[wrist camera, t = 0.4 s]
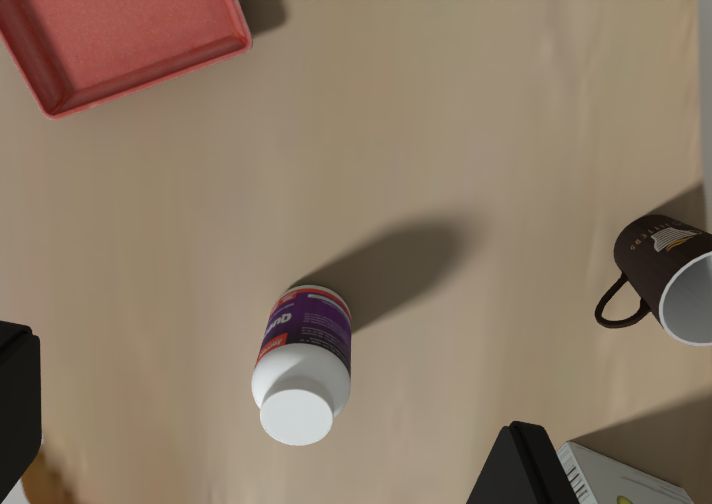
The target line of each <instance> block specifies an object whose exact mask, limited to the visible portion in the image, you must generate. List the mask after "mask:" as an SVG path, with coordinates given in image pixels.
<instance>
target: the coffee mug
mask: <svg viewBox="0 0 712 504" xmlns="http://www.w3.org/2000/svg"><path fill="white" fill-rule="evenodd" d="M614 259H615V262H616V264H617V266H618V267H619V269H620V270H621V271H622V274H621V277H620V278H619V279H618V281H617V282H616V283H615V284H614V285H613V286H612V287H611V288H610V289H609V290H608V291H607V292H606V294H605V295H604V296H603V297H602V298H601V300H600V302H599V303H598V305H597V307H596V310H595V318H596V320H597V322H598V323H599V324H601V325H602V326H604V327H606V328H623V327H627V326H631V325H634V324H636V323H637V322H639V321H640V320H641V319H642V318H643V317H645V316H646V315H647V314H648V313H649V312H652V314H653V315H654V316H655V318H656V319H657V320H658V322H659V323H660V324H661V326H662V327H663V329H664V330H665V331H666V332H667V333H668V334H669V335H670V336H671V337H672V338H674V339H675V340H677V341H679V342H681V343H684V344H687V345H693V346H710V345H712V234H710V233H707V232H704V231H702V230H699V229H697V228H694V227H692V226H689V225H687V224H684V223H682V222H679V221H677V220H674V219H672V218H669V217H667V216H662V215H650V216H645V217H642V218H639V219H637V220H635V221H634V222H632V223H631V224H629V225H628V226H627V227H626V228H625V229H624V230H623V231H622V232H621V233H620V235H619V236H618V238H617V240H616V243H615V246H614ZM627 281H629V282H630V284H631V285H632V286H633V288H634V289H635V290H636V292H637V293H638V295H639V296H640V297H641V300H640V308H639V310H638V311H637V313H635V314H634V315H633V316H631V317H629V318H627V319H624V320H620V321H609V320H606V319H604V318H603V317H602V316H601V315H602V312H603V309H604V307H605V305H606V303H607V302H608V301H609V300H610V299H611V298H612V297H613V295H614V294H615V293H616V292H617V291H618V290H619V289H620V288H621V287H622V286H623V284H624V283H626V282H627Z"/></svg>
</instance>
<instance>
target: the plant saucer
mask: <svg viewBox="0 0 712 504" xmlns="http://www.w3.org/2000/svg"><path fill="white" fill-rule="evenodd" d="M0 38H1V40H2V42H3V44H4V45H5V47H6V49H7V51H8V52H9V54H10V56H11V58H12V59H13V61H14V63H15V65H16V67H17V69H18V70H19V72H20V74H21V76H22V78H23V80H24V82H25V83H26V85H27V87H28V89H29V90H30V92H31V94H32V96H33V98H34V100H35V101H36V103H37V105H38V107H39V109H40V110H41V112H42V113H43V115H45V116H46V117H47V118H48V119H51V120H58V119H62V118H64V117H67V116H70V115H73V114H76V113H78V112H82V111H85V110H88V109H90V108H93V107H96V106H99V105H102V104H105V103H107V102H110V101H113V100H116V99H119V98H122V97H125V96H128V95H131V94H133V93H135V92H138V91H141V90H144V89H147V88H149V87H152V86H155V85H158V84H161V83H163V82H166V81H169V80H172V79H174V78H177V77H180V76H183V75H185V74H188V73H191V72H194V71H197V70H200V69H203V68H206V67H208V66H211V65H214V64H216V63H219V62H222V61H225V60H228V59H231V58H234V57H236V56H239V55H242V54H245V53H247V52H249V51H250V50H251V48H252V45H253V39H252V35H251V33H250V30H249V27H248V24H247V22H246V19H245V16H244V14H243V11H242V8H241V6H240V3H239V0H0Z"/></svg>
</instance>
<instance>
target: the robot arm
mask: <svg viewBox="0 0 712 504" xmlns="http://www.w3.org/2000/svg"><path fill="white" fill-rule="evenodd" d="M41 439H42V429H41V369H40V339H39V337H38V336H36V335H33V334H32V330H31V328H30V327H29V326H26V325H21V324H16V323H10V322H5V321H0V504H1V503H2V502H3V500H4V499H5V498H6V496H7V495H8V494H9V492H10V491H11V490H12V488H13V487H14V486H15V484H16V483H17V482H18V480H19V479H20V477H21V476H22V475H23V473H24V472H25V471H26V469H27V468H28V467H29V465H30V464H31V463H32V461H33V460H34V458H35V457H36V455H37V453H38V451H39V448H40V445H41ZM466 504H580V503H579V500H578V498H577V496H576V494H575V492H574V490H573V488H572V485H571V483H570V481H569V479H568V477H567V475H566V473H565V471H564V468H563V466H562V464H561V462H560V460H559V458H558V456H557V454H556V451H555V449H554V447H553V445H552V443H551V441H550V439H549V436H548V434H547V432H546V430H545V429H544V427H542V426H540V425H535V424H530V423H525V422H520V421H513V422H512V423H511V424H510V426H509V427H508V426H504V427H503V428H502V429H501V431H500V433H499V435H498V437H497V439H496V441H495V443H494V445H493V447H492V450H491V452H490V454H489V456H488V458H487V460H486V462H485V464H484V467H483V469H482V471H481V473H480V475H479V477H478V479H477V482H476V484H475V486H474V488H473V490H472V492H471V494H470V496H469V499H468V501H467V503H466Z"/></svg>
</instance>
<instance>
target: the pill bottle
mask: <svg viewBox="0 0 712 504" xmlns="http://www.w3.org/2000/svg"><path fill="white" fill-rule="evenodd" d="M351 328H352V324H351V314H350V311H349V308H348V306H347V305H346V303H345V302H344V300H343V299H342V298H341V297H340V296H339V295H338V294H336V293H335V292H333V291H332V290H330V289H328V288H325V287H321V286H316V285H302V286H298V287H294V288H292V289H290V290H288V291H286V292H285V293H284V294H282V295H281V296H280V297H279V298H278V300H277V301H276V302H275V304H274V306H273V308H272V311H271V314H270V318H269V321H268V325H267V328H266V332H265V335H264V339H263V342H262V345H261V349H260V352H259V356H258V359H257V363H256V366H255V369H254V373H253V377H252V393H253V396H254V399H255V401H256V403H257V405H258V407H259V408H260V409H261V411H260V419H261V423H262V426H263V428H264V429H265V431H266V432H267V433H268V434H269V435H270V436H271V437H273V438H274V439H276V440H278V441H280V442H282V443H285V444H289V445H308V444H311V443H314V442H317V441H319V440H320V439H322V438H323V437H324V436H325V435H326V434H327V433H328V432H329V431H330V429H331V427H332V424H333V418H334V417H336V416H337V415H338V414H339V413H340V412H341V411H342V409H343V408H344V406H345V405H346V403H347V400H348V398H349V394H350V378H351Z"/></svg>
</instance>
